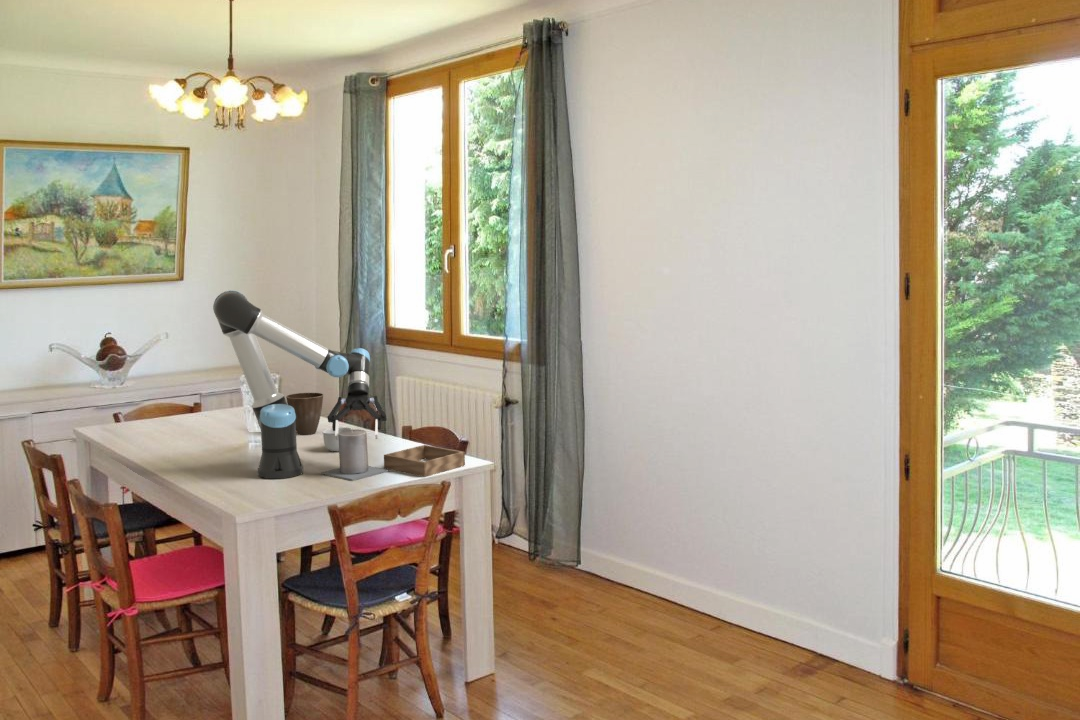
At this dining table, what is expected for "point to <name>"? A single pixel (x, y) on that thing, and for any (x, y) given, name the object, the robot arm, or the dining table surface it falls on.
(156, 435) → the dining table surface
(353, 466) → the pillar candle
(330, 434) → the teacup
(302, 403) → the plant pot
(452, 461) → the walnut box
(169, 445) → the dining table surface
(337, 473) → the grey rubber mat
